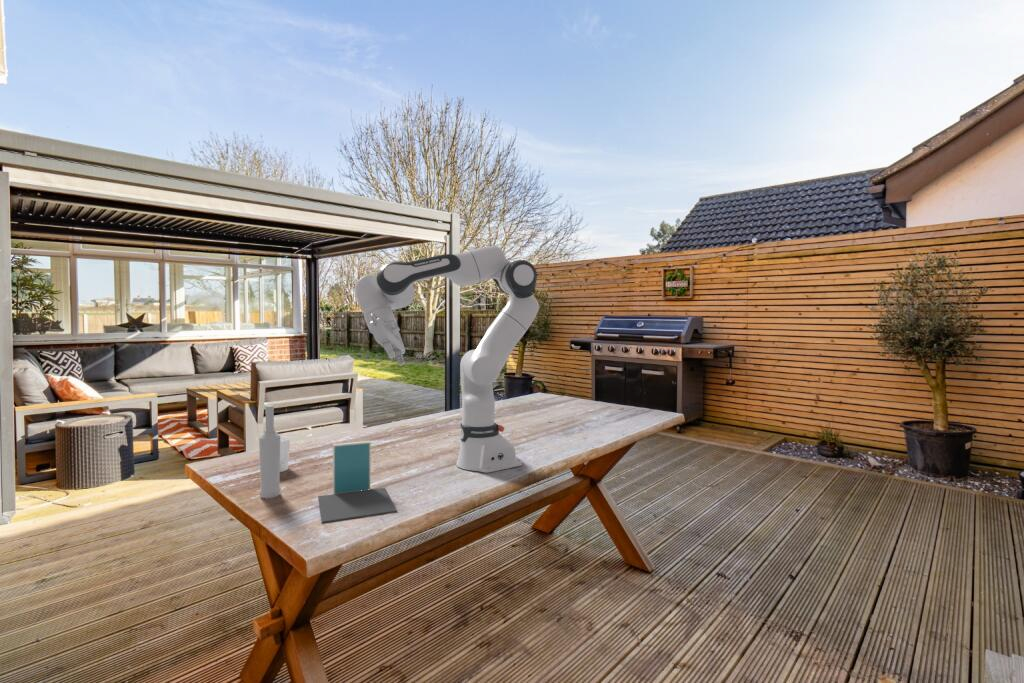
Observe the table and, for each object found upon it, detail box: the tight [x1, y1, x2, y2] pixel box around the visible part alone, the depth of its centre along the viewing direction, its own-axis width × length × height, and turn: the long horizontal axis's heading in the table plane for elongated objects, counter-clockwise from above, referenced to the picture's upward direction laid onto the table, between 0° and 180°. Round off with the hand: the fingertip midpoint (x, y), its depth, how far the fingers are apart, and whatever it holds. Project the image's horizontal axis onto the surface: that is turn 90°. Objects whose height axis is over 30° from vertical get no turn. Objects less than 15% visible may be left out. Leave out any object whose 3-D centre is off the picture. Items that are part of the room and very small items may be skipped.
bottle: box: [258, 404, 281, 500], centre depth 131 cm, size 5×5×25 cm
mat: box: [317, 487, 398, 524], centre depth 127 cm, size 18×18×1 cm
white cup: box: [280, 435, 291, 473], centre depth 153 cm, size 8×8×10 cm
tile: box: [332, 440, 371, 494], centre depth 136 cm, size 10×2×14 cm, turn 115°
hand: (397, 361), depth 147 cm, fingers open, 8 cm apart
